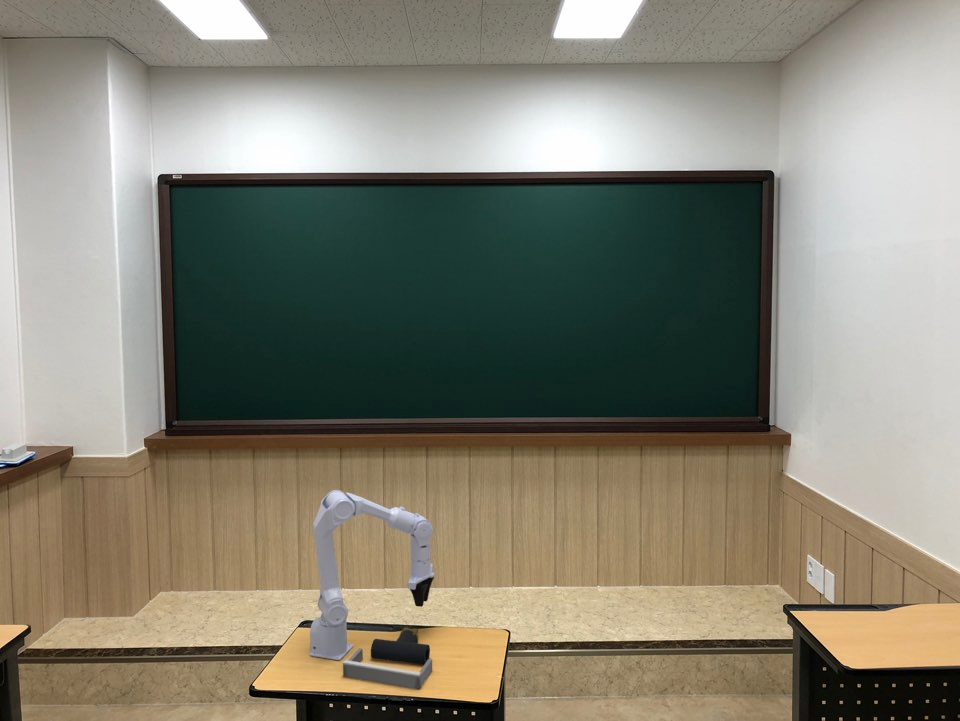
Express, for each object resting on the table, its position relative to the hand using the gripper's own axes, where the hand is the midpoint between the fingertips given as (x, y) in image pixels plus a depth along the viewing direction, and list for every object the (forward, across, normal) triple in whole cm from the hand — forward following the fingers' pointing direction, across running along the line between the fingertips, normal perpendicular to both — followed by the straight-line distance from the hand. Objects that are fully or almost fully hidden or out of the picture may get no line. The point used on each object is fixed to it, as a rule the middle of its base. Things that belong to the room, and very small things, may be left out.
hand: (421, 603), depth 194 cm
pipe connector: (+9, -13, 0) cm, 16 cm away
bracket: (+8, -23, 0) cm, 25 cm away
